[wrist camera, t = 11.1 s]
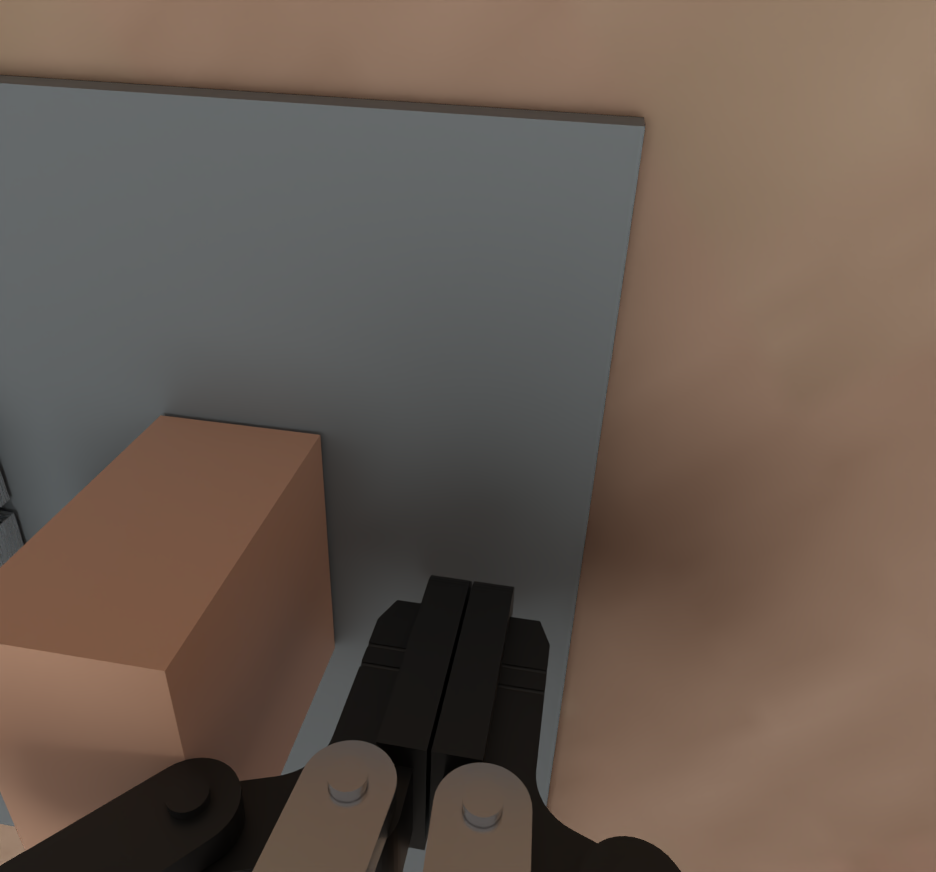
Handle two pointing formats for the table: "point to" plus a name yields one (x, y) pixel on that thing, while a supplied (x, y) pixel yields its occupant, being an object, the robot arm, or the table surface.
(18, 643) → the block
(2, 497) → the jaw
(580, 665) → the table surface
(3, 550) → the bar
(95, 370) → the slate board
